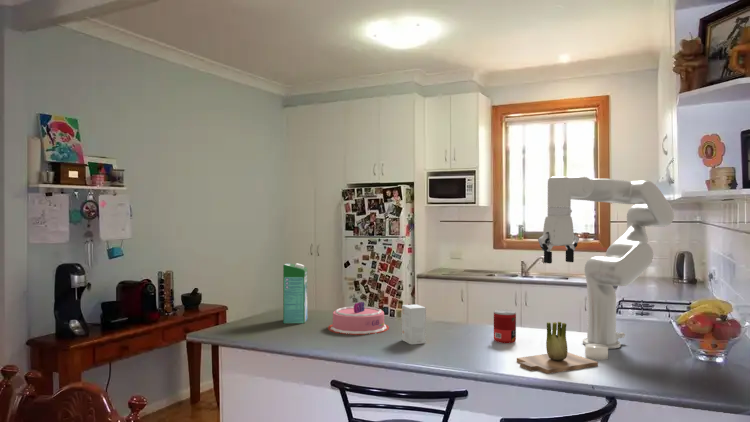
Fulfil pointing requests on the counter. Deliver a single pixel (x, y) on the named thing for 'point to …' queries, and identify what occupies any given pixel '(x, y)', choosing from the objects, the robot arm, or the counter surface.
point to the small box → (414, 324)
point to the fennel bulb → (556, 341)
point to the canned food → (504, 326)
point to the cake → (358, 320)
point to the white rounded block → (596, 351)
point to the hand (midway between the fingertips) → (558, 262)
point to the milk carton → (294, 293)
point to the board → (555, 363)
